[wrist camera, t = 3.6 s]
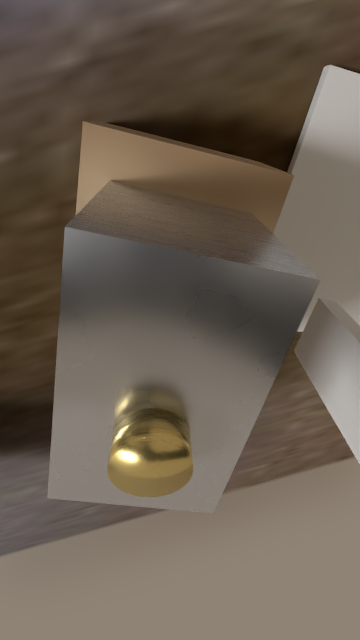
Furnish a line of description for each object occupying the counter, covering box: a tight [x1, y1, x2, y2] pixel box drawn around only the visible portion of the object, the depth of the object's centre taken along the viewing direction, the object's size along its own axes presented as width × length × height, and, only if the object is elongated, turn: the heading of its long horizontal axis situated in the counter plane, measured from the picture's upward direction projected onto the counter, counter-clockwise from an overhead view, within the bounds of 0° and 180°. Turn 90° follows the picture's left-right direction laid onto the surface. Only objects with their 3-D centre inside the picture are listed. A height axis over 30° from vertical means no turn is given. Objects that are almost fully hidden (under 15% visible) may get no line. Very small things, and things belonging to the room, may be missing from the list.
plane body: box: [76, 121, 294, 233], centre depth 16 cm, size 14×7×7 cm, turn 167°
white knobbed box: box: [48, 180, 320, 513], centre depth 11 cm, size 8×5×7 cm, turn 167°
